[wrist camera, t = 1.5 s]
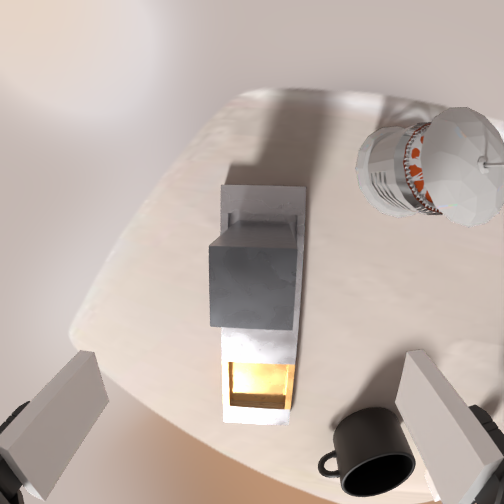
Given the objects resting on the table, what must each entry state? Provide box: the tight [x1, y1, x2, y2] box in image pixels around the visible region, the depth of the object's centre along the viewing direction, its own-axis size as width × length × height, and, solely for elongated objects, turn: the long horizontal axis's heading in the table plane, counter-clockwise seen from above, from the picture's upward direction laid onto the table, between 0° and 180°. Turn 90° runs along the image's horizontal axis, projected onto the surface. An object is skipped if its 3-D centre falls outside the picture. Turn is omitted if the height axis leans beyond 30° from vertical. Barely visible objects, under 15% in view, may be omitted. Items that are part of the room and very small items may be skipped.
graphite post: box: [209, 220, 298, 331], centre depth 25 cm, size 5×5×14 cm
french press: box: [356, 107, 504, 227], centre depth 18 cm, size 10×12×25 cm
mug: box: [318, 408, 416, 497], centre depth 32 cm, size 9×12×9 cm
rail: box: [221, 185, 306, 425], centre depth 33 cm, size 8×28×2 cm, turn 179°
